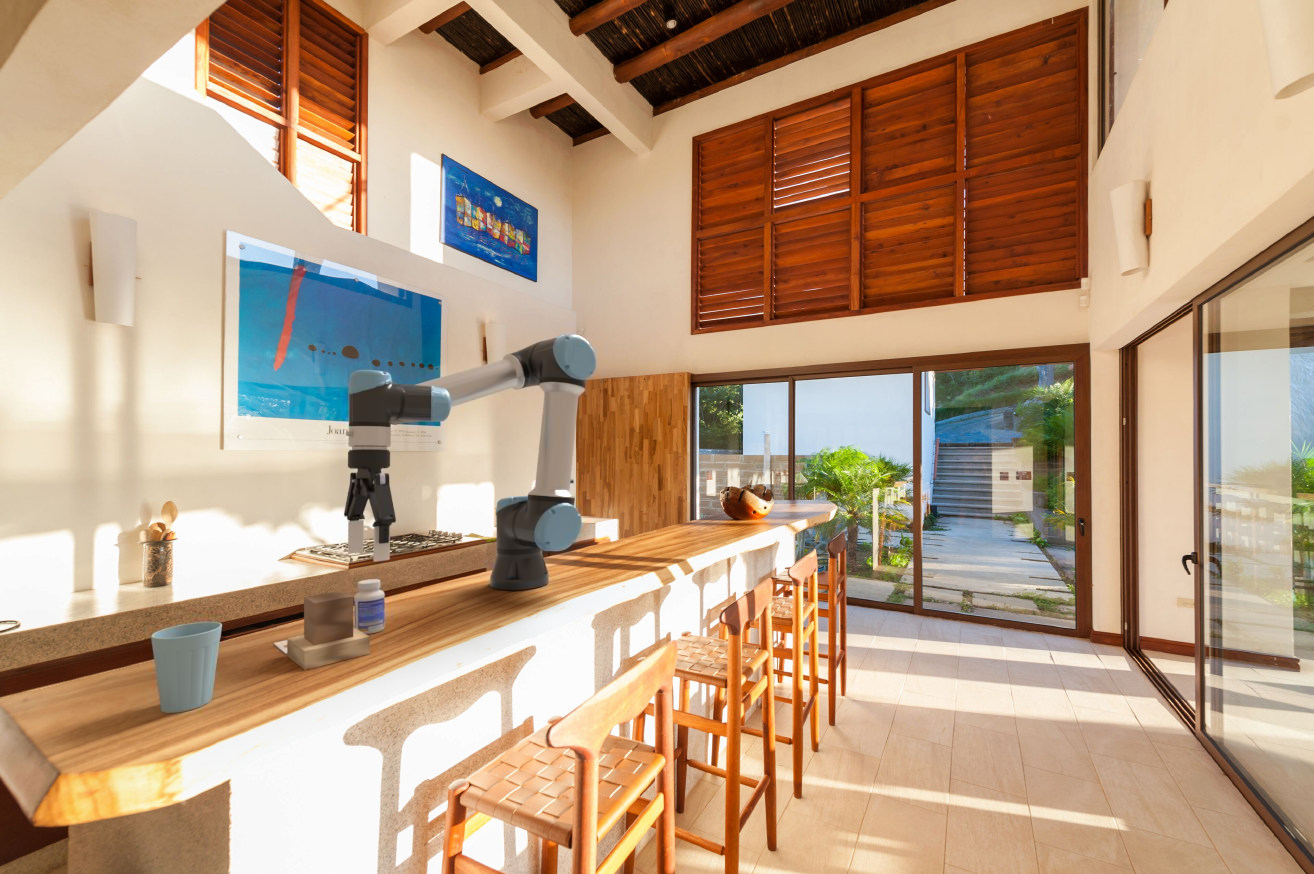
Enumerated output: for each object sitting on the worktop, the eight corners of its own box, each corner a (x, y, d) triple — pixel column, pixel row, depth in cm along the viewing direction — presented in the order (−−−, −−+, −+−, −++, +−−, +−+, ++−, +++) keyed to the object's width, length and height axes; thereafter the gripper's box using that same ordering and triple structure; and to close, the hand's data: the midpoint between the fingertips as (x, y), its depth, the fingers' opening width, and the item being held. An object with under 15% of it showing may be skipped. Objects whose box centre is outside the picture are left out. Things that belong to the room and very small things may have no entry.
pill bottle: (390, 628, 114) (390, 579, 114) (365, 636, 109) (364, 585, 109) (374, 625, 117) (374, 576, 117) (348, 632, 112) (348, 582, 112)
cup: (134, 714, 77) (135, 636, 77) (190, 691, 85) (191, 620, 85) (182, 719, 76) (183, 639, 76) (234, 694, 83) (235, 622, 84)
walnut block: (341, 629, 104) (341, 590, 104) (353, 636, 100) (353, 596, 100) (304, 637, 99) (304, 597, 100) (314, 645, 95) (314, 602, 95)
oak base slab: (349, 641, 107) (349, 624, 107) (369, 653, 100) (369, 636, 100) (287, 655, 99) (287, 638, 99) (304, 670, 92) (304, 651, 92)
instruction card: (333, 631, 113) (333, 629, 113) (347, 639, 107) (347, 638, 107) (273, 644, 105) (273, 642, 105) (285, 654, 100) (285, 652, 100)
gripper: (328, 449, 120) (326, 551, 119) (373, 447, 102) (372, 567, 102) (366, 449, 125) (364, 547, 124) (415, 447, 108) (414, 561, 107)
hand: (368, 556), depth 113 cm, fingers open, 13 cm apart
